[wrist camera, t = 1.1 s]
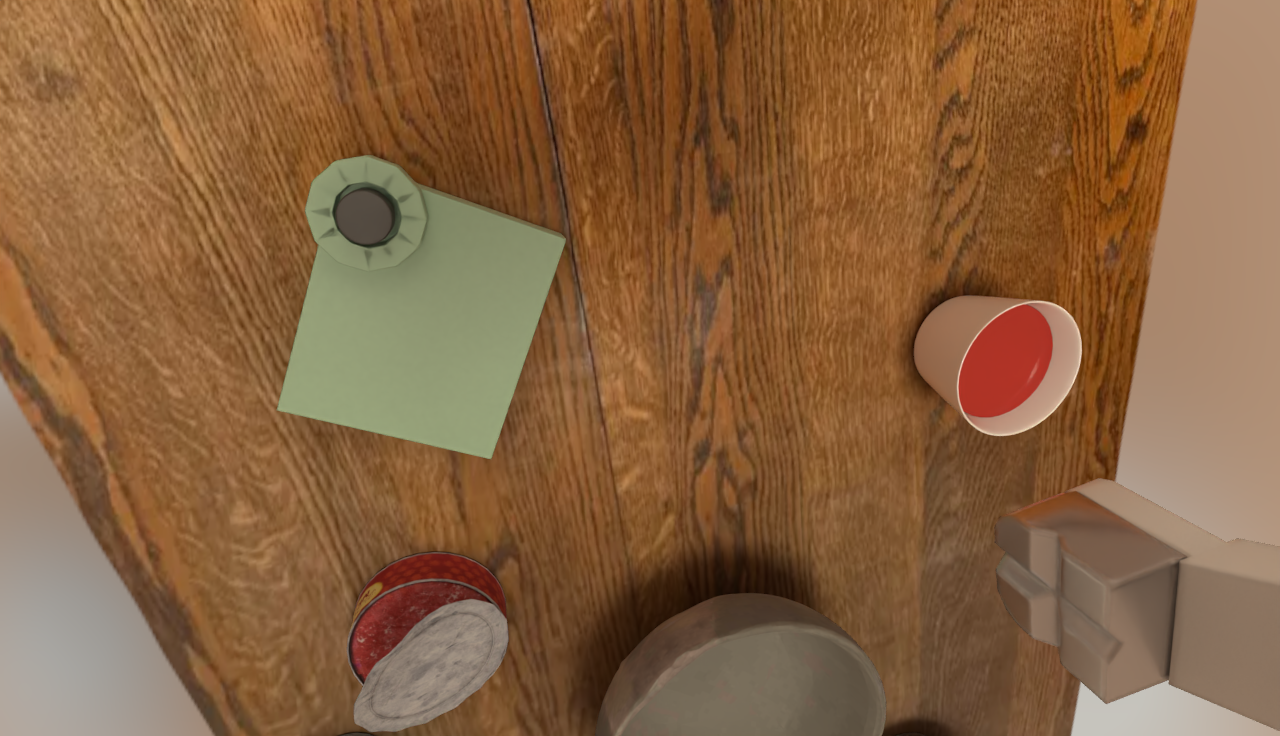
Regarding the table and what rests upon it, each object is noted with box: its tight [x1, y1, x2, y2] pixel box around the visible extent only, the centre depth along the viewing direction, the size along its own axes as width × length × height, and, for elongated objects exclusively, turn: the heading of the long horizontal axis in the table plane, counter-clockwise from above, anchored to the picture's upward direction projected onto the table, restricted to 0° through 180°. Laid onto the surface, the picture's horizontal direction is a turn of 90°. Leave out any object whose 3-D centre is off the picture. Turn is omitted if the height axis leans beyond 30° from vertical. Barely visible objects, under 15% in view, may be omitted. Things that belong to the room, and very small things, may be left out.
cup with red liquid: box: [914, 295, 1082, 436], centre depth 46 cm, size 9×9×6 cm
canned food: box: [347, 552, 509, 732], centre depth 43 cm, size 11×10×10 cm
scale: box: [277, 155, 566, 459], centre depth 37 cm, size 15×13×4 cm
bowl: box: [595, 593, 886, 736], centre depth 48 cm, size 20×20×10 cm
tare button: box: [335, 188, 395, 245], centre depth 33 cm, size 3×3×1 cm
